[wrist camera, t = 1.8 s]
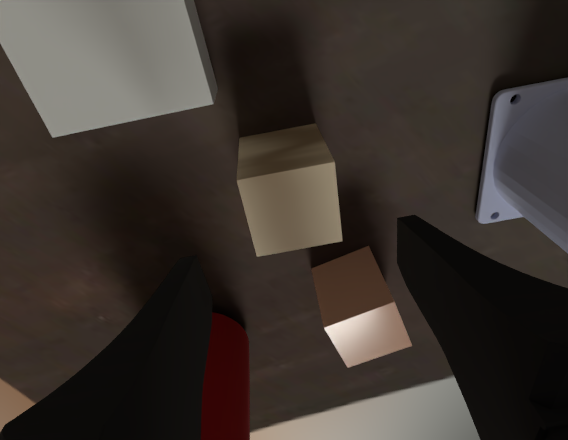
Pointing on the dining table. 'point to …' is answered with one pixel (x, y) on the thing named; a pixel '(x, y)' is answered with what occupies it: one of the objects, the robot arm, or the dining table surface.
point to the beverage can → (226, 383)
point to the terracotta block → (358, 308)
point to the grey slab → (107, 59)
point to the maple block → (289, 190)
